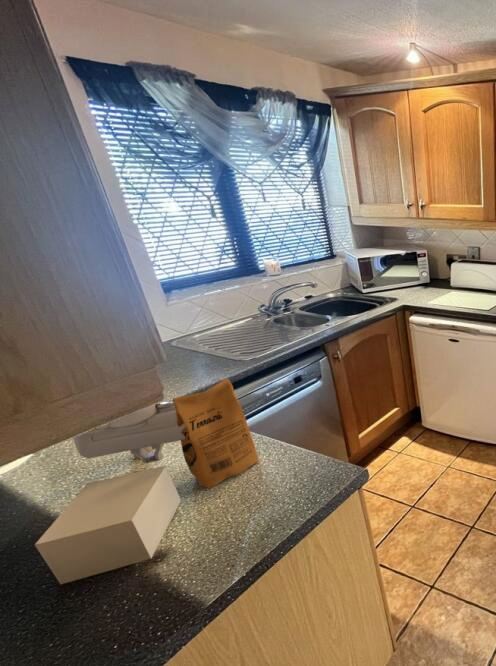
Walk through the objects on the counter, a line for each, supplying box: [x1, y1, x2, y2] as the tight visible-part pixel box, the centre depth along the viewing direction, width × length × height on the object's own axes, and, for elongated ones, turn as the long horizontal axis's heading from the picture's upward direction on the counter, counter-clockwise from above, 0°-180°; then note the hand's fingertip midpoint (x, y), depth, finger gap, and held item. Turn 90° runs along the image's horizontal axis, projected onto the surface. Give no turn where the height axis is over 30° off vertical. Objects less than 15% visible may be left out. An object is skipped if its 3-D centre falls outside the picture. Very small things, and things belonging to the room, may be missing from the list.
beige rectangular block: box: [34, 465, 182, 585], centre depth 73 cm, size 15×13×10 cm
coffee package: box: [172, 378, 259, 489], centre depth 88 cm, size 10×12×22 cm
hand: (153, 460), depth 87 cm, fingers closed
